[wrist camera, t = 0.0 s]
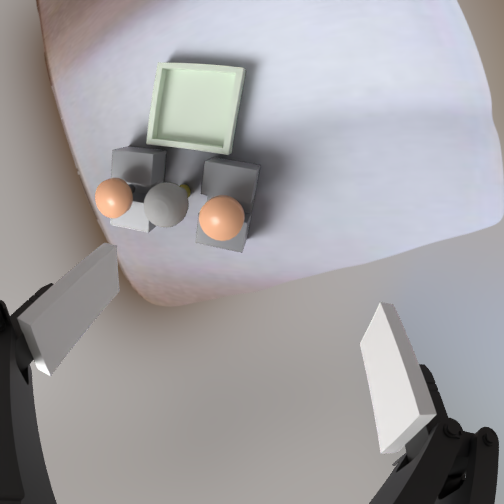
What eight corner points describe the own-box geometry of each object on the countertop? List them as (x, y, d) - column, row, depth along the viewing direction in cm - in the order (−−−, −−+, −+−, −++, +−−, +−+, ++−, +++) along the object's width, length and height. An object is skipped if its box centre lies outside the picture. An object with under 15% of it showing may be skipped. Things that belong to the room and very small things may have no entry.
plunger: (117, 169, 37) (95, 178, 32) (147, 173, 37) (127, 182, 32) (116, 202, 39) (95, 215, 35) (145, 208, 39) (126, 221, 34)
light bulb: (171, 210, 42) (141, 236, 33) (165, 174, 40) (131, 191, 31) (206, 207, 42) (183, 232, 33) (200, 170, 39) (174, 185, 30)
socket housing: (128, 146, 39) (112, 150, 35) (260, 165, 38) (256, 170, 34) (125, 214, 44) (110, 224, 40) (246, 239, 43) (242, 252, 39)
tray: (164, 65, 33) (157, 62, 31) (246, 70, 33) (243, 67, 31) (153, 142, 38) (146, 144, 36) (231, 153, 38) (228, 155, 36)
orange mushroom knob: (213, 184, 37) (201, 194, 32) (252, 191, 37) (246, 203, 32) (208, 220, 39) (196, 235, 34) (245, 227, 39) (238, 244, 34)
